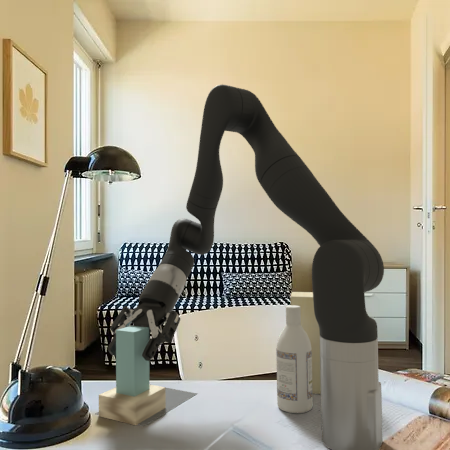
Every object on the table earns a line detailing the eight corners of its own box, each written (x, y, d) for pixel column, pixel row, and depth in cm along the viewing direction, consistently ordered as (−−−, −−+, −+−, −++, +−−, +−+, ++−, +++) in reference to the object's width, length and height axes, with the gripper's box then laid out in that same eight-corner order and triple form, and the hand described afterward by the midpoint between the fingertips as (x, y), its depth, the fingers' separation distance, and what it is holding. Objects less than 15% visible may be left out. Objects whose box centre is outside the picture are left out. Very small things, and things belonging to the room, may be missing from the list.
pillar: (149, 389, 84) (149, 327, 84) (134, 396, 80) (134, 332, 80) (131, 385, 86) (131, 325, 86) (116, 392, 82) (116, 330, 82)
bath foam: (303, 399, 89) (301, 303, 90) (318, 412, 82) (316, 307, 83) (272, 402, 87) (270, 304, 88) (285, 416, 80) (283, 309, 81)
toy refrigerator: (325, 395, 91) (323, 296, 92) (291, 393, 93) (289, 296, 93) (324, 382, 99) (322, 292, 100) (292, 381, 100) (291, 291, 101)
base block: (165, 407, 84) (165, 387, 85) (135, 425, 77) (135, 402, 77) (130, 400, 89) (130, 380, 89) (98, 416, 81) (98, 394, 81)
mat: (197, 394, 92) (197, 393, 92) (143, 427, 76) (143, 426, 76) (153, 386, 98) (153, 385, 98) (94, 415, 82) (94, 413, 82)
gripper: (130, 277, 93) (90, 341, 83) (183, 279, 87) (148, 349, 76) (145, 298, 98) (110, 361, 87) (198, 302, 91) (166, 371, 81)
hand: (128, 356), depth 82 cm, fingers open, 8 cm apart
